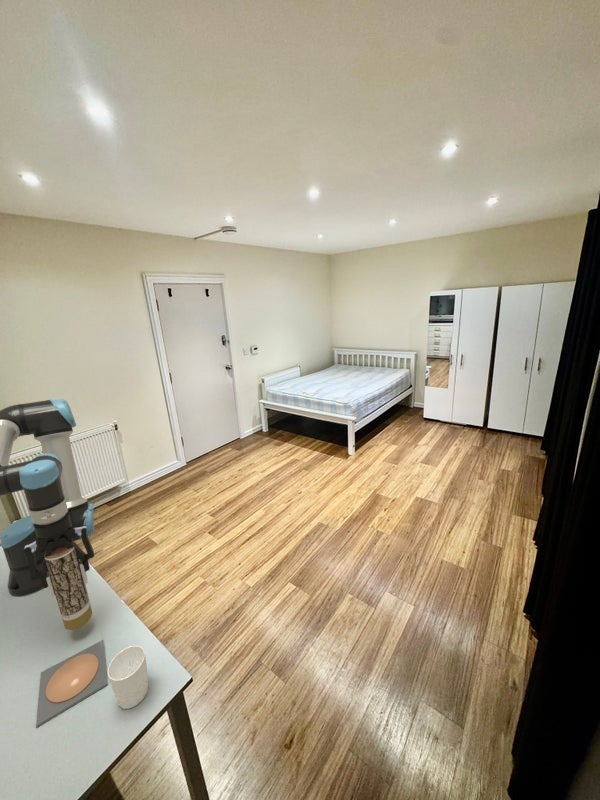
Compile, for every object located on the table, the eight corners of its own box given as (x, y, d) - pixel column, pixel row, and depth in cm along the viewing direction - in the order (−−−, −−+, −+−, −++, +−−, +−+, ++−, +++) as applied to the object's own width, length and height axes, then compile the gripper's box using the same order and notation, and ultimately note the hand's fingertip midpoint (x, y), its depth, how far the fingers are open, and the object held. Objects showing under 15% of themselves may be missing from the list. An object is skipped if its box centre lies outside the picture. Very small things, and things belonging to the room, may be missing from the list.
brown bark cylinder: (78, 633, 87) (58, 560, 80) (58, 629, 88) (37, 557, 82) (98, 612, 93) (80, 542, 87) (79, 608, 95) (61, 539, 88)
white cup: (142, 668, 81) (136, 638, 79) (157, 689, 76) (150, 658, 74) (110, 696, 75) (102, 665, 73) (123, 721, 70) (115, 688, 68)
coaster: (41, 674, 81) (40, 670, 80) (103, 641, 89) (102, 638, 88) (36, 728, 70) (35, 724, 69) (108, 685, 78) (107, 681, 77)
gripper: (-2, 540, 74) (23, 616, 79) (95, 510, 85) (111, 578, 90) (3, 525, 79) (26, 596, 85) (94, 498, 91) (108, 563, 96)
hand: (70, 587), depth 88 cm, fingers closed on brown bark cylinder, 7 cm apart
